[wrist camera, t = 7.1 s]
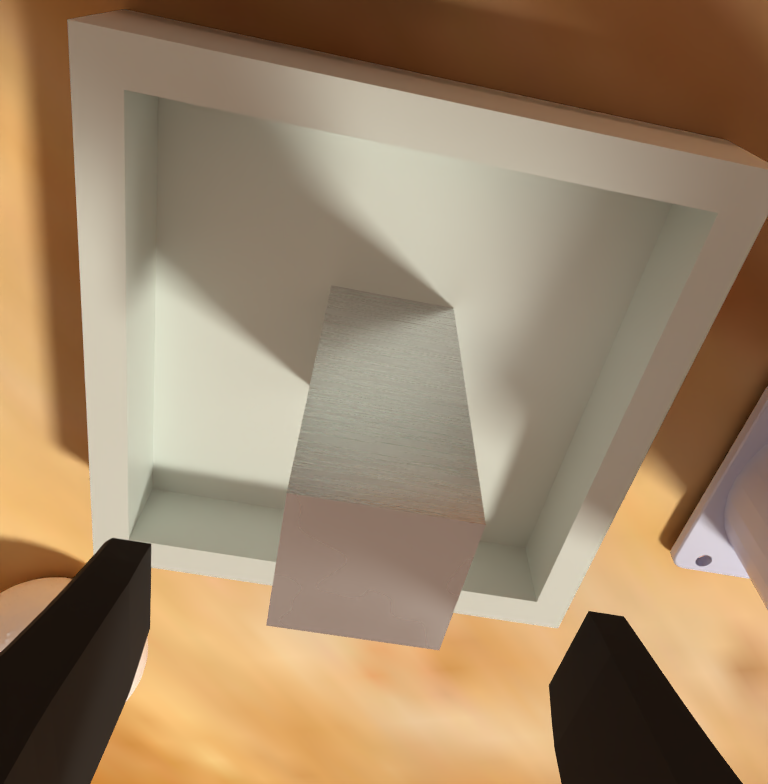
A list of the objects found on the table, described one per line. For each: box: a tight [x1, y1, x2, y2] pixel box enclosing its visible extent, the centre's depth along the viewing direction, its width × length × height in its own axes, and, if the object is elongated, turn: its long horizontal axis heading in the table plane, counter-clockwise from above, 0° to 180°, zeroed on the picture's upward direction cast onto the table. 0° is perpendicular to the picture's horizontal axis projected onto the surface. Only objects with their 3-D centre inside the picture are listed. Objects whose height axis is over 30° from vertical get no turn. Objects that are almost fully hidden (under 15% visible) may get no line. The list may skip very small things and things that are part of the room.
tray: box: [67, 9, 768, 628], centre depth 18 cm, size 14×14×3 cm
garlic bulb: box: [0, 577, 148, 701], centre depth 23 cm, size 6×6×8 cm
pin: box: [267, 285, 486, 650], centre depth 15 cm, size 3×3×8 cm
